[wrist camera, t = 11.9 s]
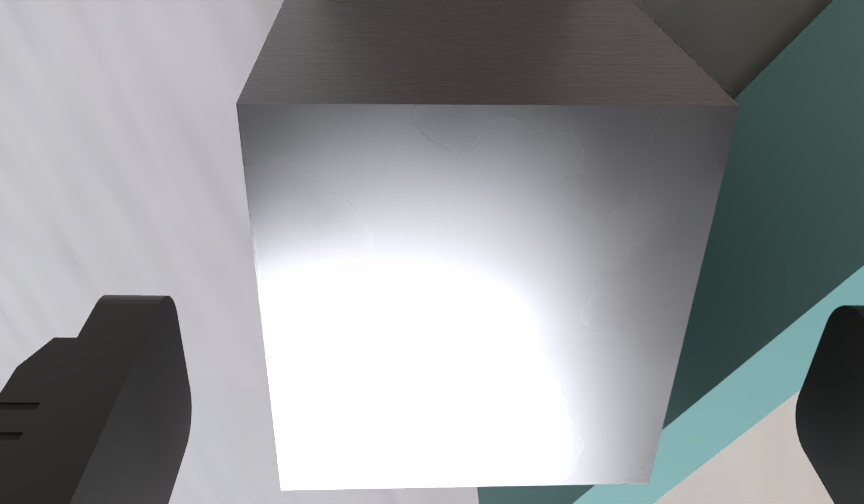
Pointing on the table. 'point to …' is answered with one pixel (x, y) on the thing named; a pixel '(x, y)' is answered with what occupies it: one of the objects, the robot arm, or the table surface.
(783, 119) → the door
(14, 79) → the table surface
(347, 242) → the block
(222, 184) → the table surface
